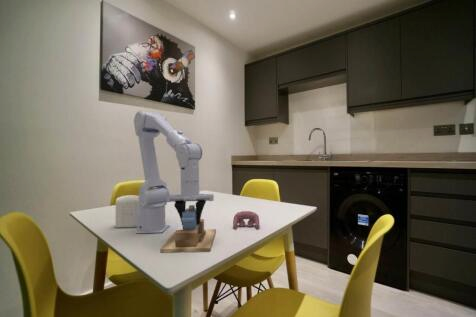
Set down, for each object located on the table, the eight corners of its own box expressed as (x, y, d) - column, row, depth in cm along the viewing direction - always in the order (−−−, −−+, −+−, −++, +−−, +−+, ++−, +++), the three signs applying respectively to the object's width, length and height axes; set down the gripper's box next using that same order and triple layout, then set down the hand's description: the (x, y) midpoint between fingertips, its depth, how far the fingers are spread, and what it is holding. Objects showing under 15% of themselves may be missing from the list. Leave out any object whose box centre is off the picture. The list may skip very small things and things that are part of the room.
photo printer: (145, 224, 88) (144, 193, 88) (141, 227, 84) (140, 195, 84) (119, 225, 87) (118, 194, 87) (113, 228, 83) (113, 196, 83)
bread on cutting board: (160, 252, 61) (159, 234, 61) (176, 232, 77) (176, 218, 77) (210, 251, 61) (209, 233, 61) (215, 232, 77) (215, 217, 77)
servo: (180, 234, 64) (180, 210, 64) (188, 224, 74) (188, 203, 74) (194, 234, 64) (193, 210, 64) (200, 224, 74) (199, 203, 74)
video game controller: (259, 230, 82) (259, 212, 85) (259, 228, 78) (259, 209, 81) (233, 230, 82) (234, 212, 86) (232, 228, 78) (232, 209, 82)
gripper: (162, 183, 64) (163, 228, 64) (211, 182, 65) (212, 227, 65) (170, 180, 72) (171, 221, 72) (213, 179, 72) (214, 220, 72)
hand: (191, 224), depth 68 cm, fingers closed on servo, 4 cm apart
